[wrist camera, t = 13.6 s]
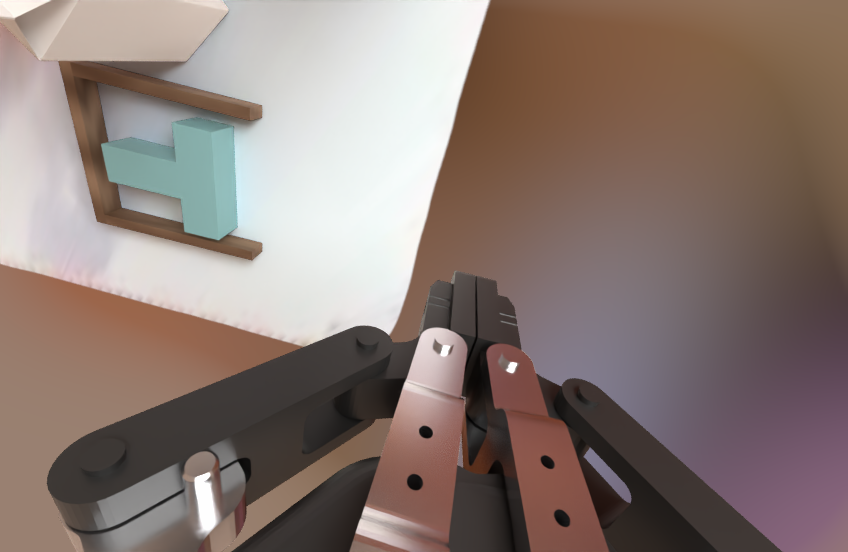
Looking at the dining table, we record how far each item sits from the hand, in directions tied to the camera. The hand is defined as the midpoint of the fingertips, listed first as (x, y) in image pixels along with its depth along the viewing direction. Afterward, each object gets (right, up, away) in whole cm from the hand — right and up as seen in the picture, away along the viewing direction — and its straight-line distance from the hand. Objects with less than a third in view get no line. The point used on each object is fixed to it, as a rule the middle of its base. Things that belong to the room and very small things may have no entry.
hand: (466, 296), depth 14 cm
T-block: (-29, +13, +30) cm, 44 cm away
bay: (-29, +13, +30) cm, 44 cm away
